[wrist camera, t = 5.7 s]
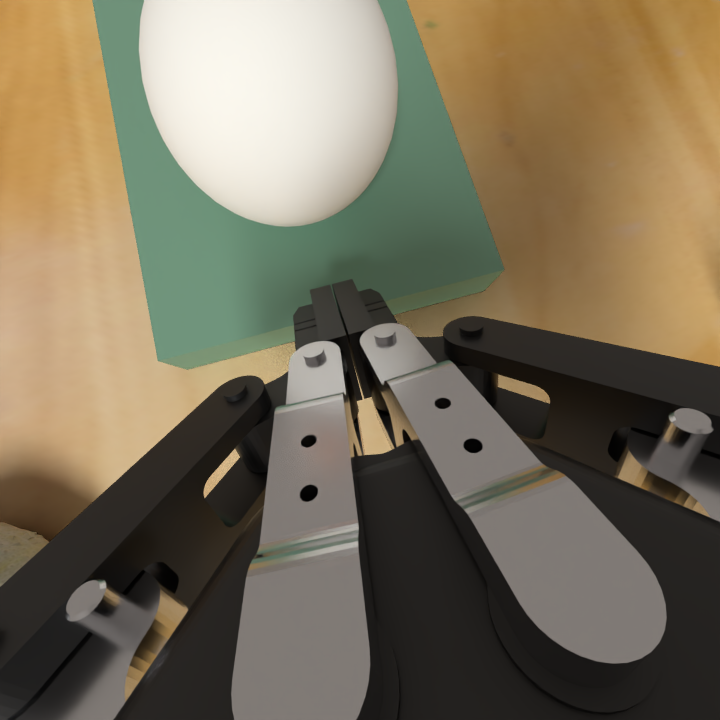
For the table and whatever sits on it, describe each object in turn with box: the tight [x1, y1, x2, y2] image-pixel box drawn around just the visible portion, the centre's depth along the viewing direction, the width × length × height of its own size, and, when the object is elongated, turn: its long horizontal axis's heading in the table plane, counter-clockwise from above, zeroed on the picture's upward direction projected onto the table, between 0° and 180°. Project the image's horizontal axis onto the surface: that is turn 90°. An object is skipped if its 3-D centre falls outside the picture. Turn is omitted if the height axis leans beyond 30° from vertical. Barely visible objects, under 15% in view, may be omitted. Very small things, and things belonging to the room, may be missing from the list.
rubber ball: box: [139, 0, 398, 227], centre depth 12 cm, size 8×8×8 cm
